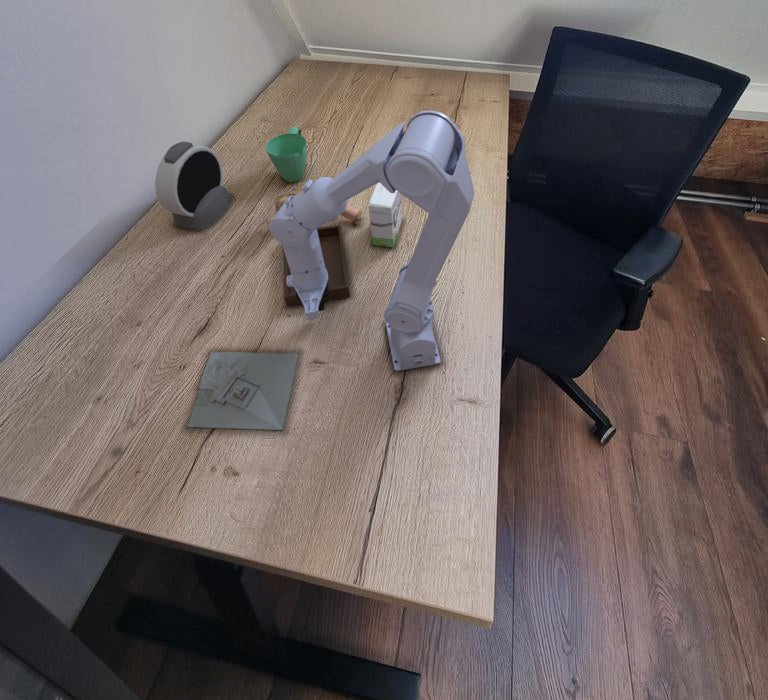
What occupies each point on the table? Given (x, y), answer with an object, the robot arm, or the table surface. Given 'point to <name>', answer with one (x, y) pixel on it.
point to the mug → (288, 154)
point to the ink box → (384, 216)
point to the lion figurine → (284, 197)
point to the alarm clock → (191, 185)
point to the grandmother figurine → (352, 214)
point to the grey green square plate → (244, 391)
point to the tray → (326, 266)
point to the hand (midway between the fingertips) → (318, 308)
